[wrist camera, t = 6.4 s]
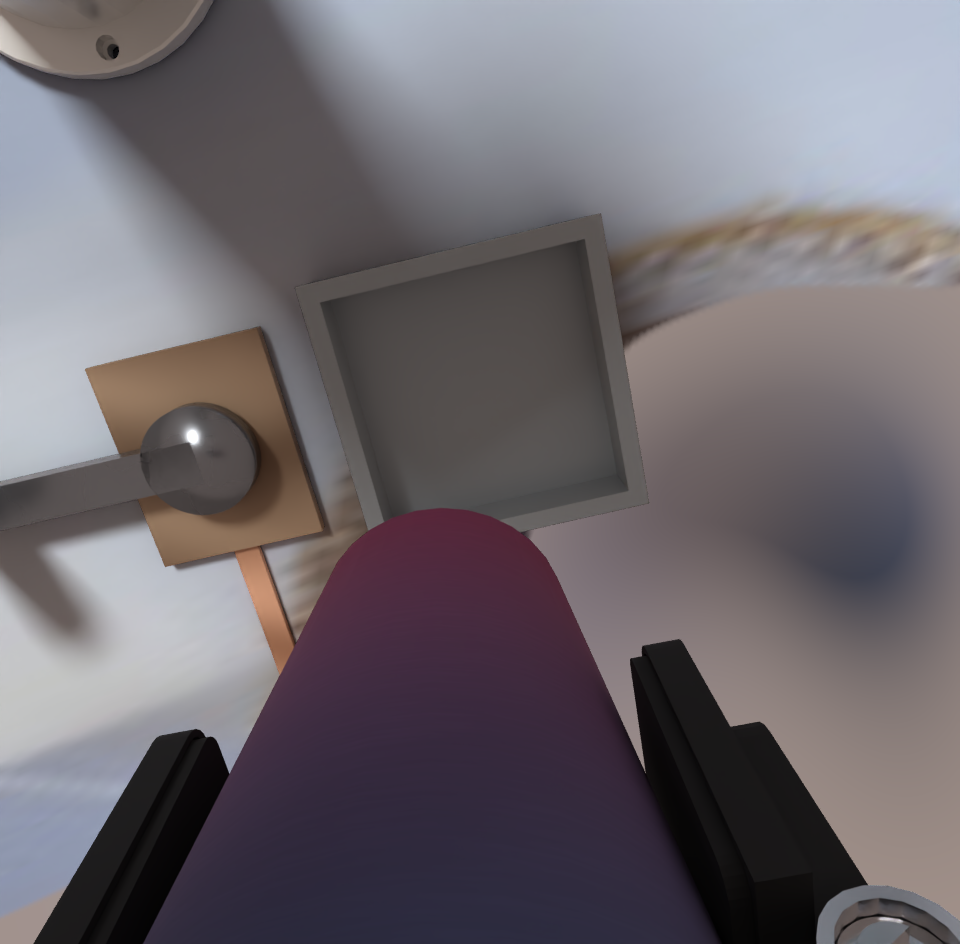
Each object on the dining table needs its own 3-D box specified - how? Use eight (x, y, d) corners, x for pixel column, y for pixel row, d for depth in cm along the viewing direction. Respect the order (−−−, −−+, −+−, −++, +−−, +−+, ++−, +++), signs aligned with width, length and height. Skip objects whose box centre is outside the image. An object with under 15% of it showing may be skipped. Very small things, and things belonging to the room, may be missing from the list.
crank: (240, 391, 32) (182, 430, 25) (275, 492, 34) (229, 555, 27) (-92, 469, 33) (-236, 528, 26) (-43, 565, 34) (-167, 645, 27)
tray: (309, 283, 32) (294, 287, 29) (587, 216, 31) (600, 213, 28) (384, 538, 35) (378, 564, 32) (633, 482, 35) (649, 503, 32)
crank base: (91, 367, 32) (84, 369, 32) (260, 326, 32) (256, 327, 31) (241, 740, 39) (238, 747, 38) (383, 709, 38) (382, 717, 38)
